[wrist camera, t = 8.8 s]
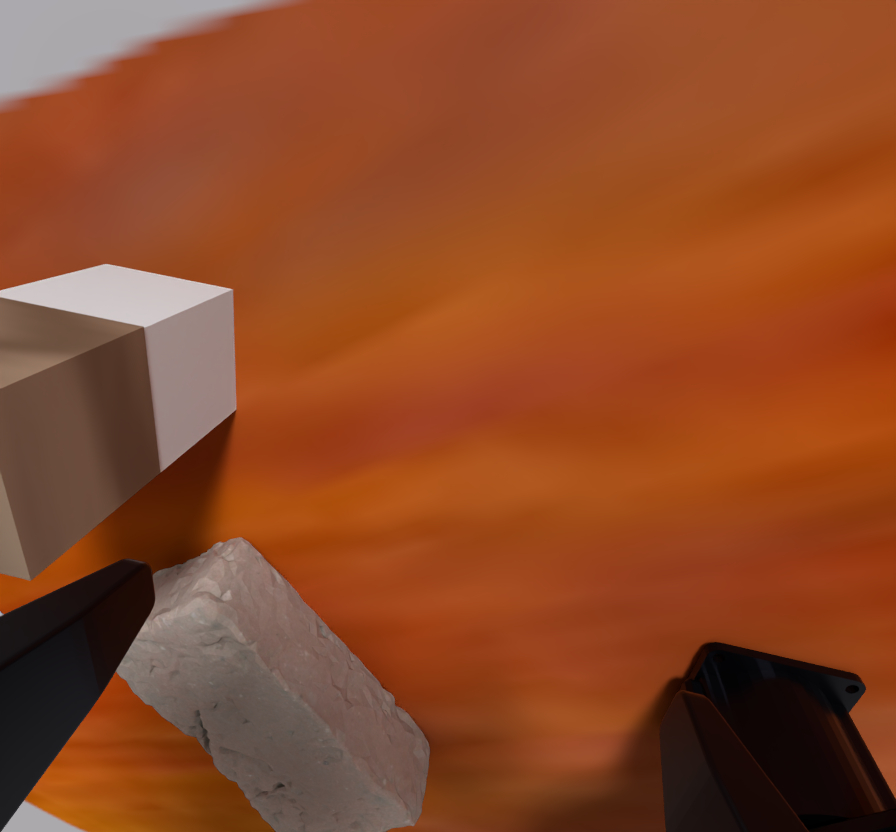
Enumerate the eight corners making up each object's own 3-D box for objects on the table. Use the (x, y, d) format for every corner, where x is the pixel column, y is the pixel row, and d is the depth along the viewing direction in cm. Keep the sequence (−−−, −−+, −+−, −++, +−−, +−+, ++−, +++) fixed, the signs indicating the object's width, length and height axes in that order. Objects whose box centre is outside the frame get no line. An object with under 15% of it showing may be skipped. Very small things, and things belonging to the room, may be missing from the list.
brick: (136, 582, 28) (65, 657, 24) (247, 523, 25) (188, 598, 21) (329, 769, 33) (298, 859, 29) (441, 739, 30) (425, 835, 26)
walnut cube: (143, 326, 15) (-21, 397, 11) (160, 472, 18) (30, 580, 13) (-17, 293, 16) (-239, 349, 11) (20, 440, 18) (-153, 535, 13)
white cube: (233, 289, 20) (142, 328, 15) (236, 409, 22) (159, 473, 18) (106, 263, 20) (-18, 294, 16) (122, 384, 22) (19, 441, 18)
